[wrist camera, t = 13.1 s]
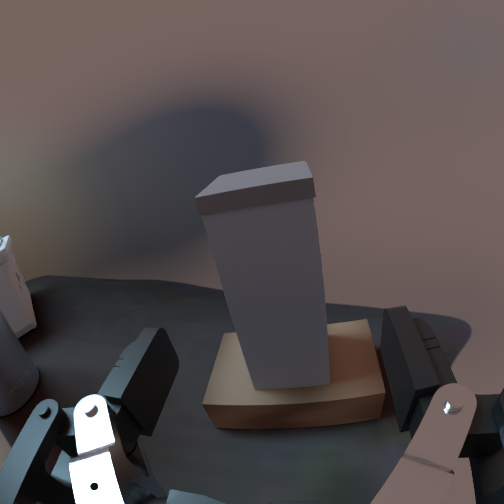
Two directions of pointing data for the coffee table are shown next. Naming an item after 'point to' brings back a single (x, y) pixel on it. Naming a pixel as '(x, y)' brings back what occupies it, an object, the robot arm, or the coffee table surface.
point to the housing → (271, 271)
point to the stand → (301, 398)
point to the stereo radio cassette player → (14, 292)
